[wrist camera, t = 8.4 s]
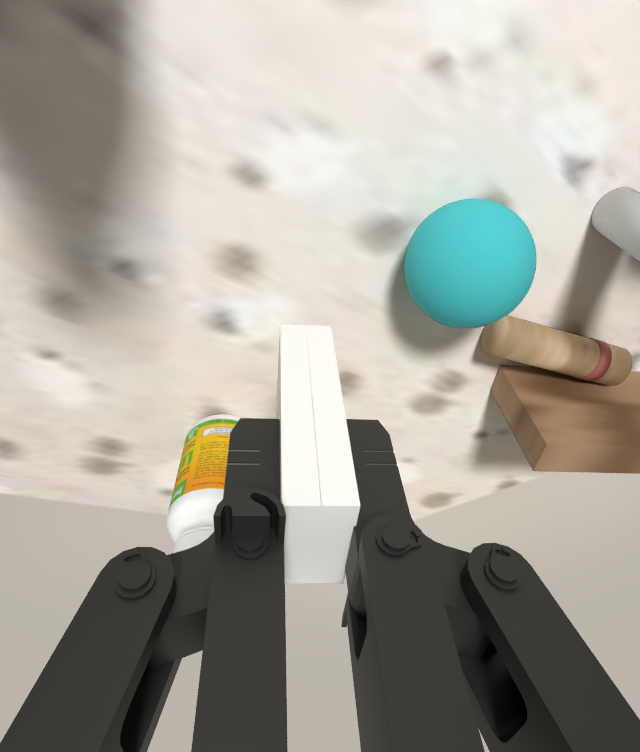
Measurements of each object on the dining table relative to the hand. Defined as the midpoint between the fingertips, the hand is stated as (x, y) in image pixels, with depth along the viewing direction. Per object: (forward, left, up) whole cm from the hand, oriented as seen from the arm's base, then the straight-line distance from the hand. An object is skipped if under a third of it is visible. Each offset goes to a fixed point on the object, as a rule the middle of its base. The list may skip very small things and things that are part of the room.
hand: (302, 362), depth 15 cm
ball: (+8, 0, -9) cm, 12 cm away
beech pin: (+12, -5, -11) cm, 17 cm away
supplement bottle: (-4, -15, -12) cm, 20 cm away
